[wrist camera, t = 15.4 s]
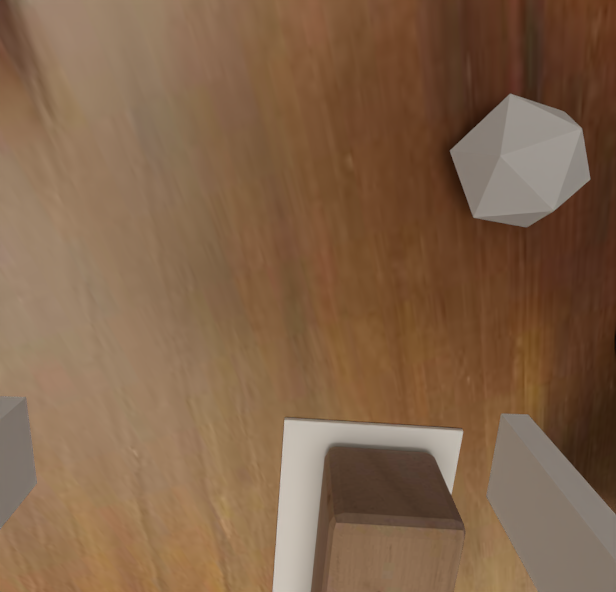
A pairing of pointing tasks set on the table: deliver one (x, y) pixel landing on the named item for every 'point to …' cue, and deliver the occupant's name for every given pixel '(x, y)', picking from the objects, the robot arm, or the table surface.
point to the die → (521, 162)
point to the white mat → (309, 472)
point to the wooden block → (385, 524)
